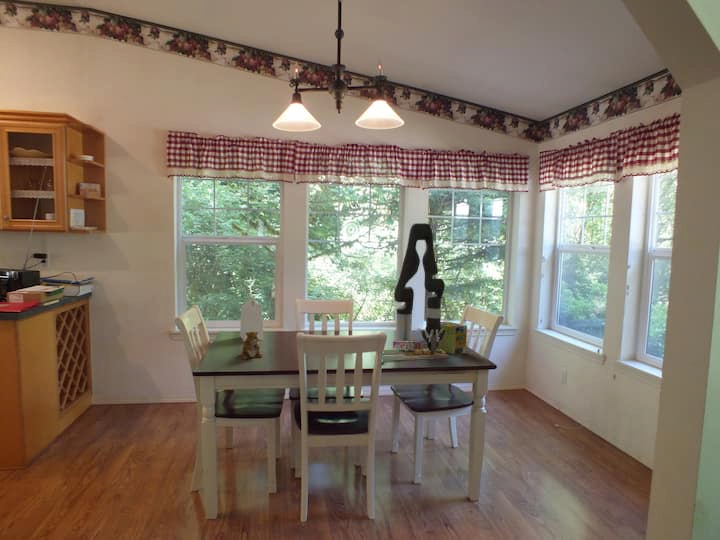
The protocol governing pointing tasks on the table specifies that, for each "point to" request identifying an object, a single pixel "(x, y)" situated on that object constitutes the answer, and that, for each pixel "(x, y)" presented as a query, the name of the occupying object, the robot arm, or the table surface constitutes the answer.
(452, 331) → the protein box
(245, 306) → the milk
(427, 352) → the chip
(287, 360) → the table surface
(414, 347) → the candy bar box
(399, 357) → the tray
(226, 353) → the table surface
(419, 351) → the chip
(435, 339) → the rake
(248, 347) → the stuffed squirrel
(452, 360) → the table surface
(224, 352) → the table surface
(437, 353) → the slot board
